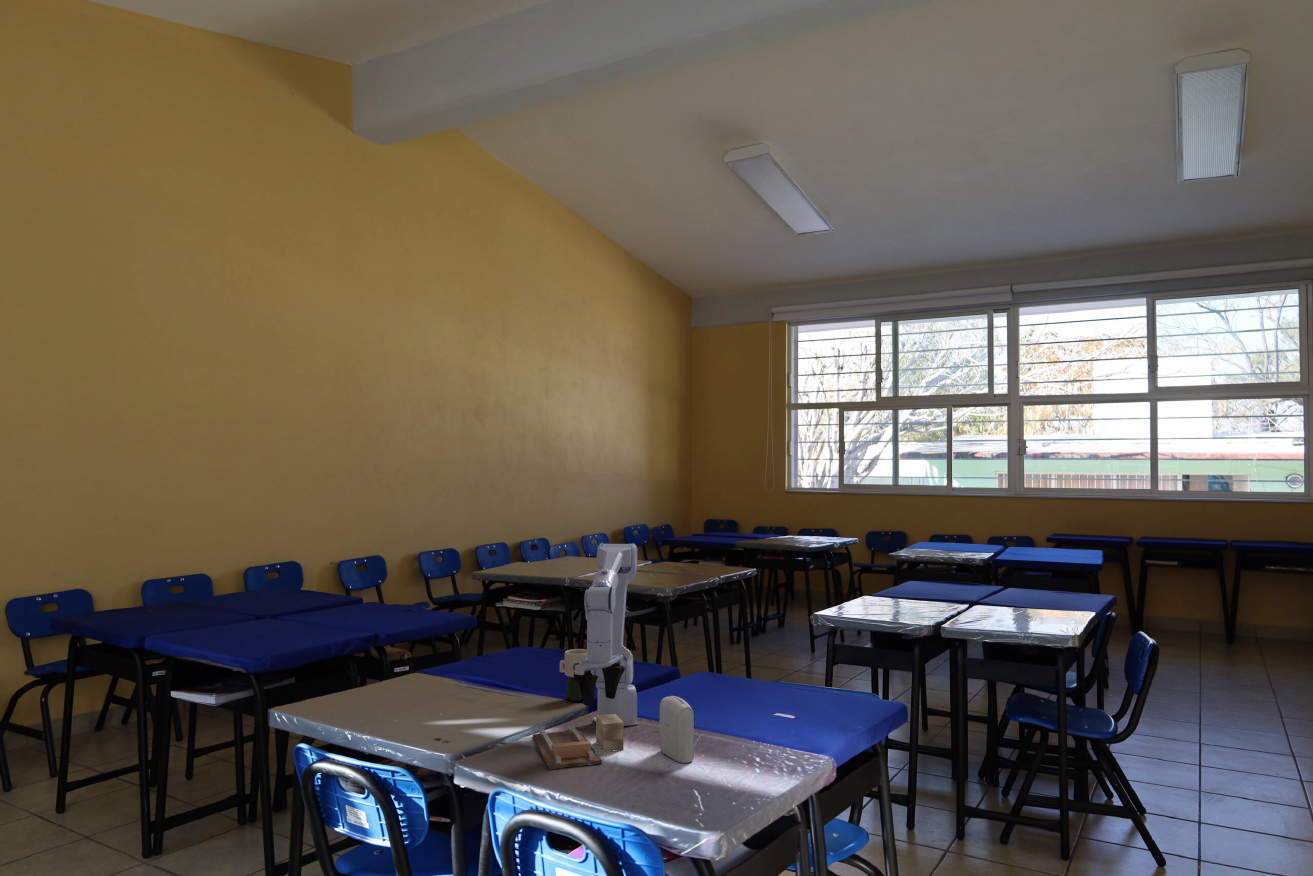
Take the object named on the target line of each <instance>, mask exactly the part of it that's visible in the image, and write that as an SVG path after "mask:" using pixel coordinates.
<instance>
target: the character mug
mask: <svg viewBox="0 0 1313 876" xmlns="http://www.w3.org/2000/svg"><path fill="white" fill-rule="evenodd" d="M585 658H587V649H583V648H577V649H576V648H575V649H569V650H565V651H564V659H562V660H560V661H559V672H560V673H561V674H562V673H564V675H565V676H567V677H569V678H568V680H567V684H566V692H565V698H566V699H568V700H570V701H575V702H577V701H583V699H582V695H581V691H580V688H579V686H578V683H577V682H576V680H575V678H574V672H575V665H577V664H580V663H582V662H583V661H584V659H585Z"/></svg>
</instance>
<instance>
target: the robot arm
mask: <svg viewBox="0 0 1313 876" xmlns="http://www.w3.org/2000/svg"><path fill="white" fill-rule="evenodd" d="M596 563H597V566H598V570H597V572H596V573H595V576H594V578H593V581H592V583H591V586H590V587H589V588H586V590H585V592H584V598H583V601H584V602H583V603H584V611H585V620H586V622H587V623H586V626H587V627H586V629H587V630H586V632H587V633H586V640H587V641H586V646H587V647H586V650H587V658H585V659H584V661H583V662H582V663H580V664H577V665H575V672H574V678H575V680H576V682H577V683H578V686H579V688H580V691H581V695H582V702H583V705H584V706H586V707H593V705H594V700H595V699H594V697H595V688H597V716H599V715H610V714H616V715H617V716H618V717H619V718H620V719H621V720H622V721H623V722H624V727H626V726H638V724H639V723H638V694H637V689H636V687H635V685H634V684H632V682H633V681H634V655H633V653H632V651H631V650H629V648H627V647H626V646H624V633H625V621H626V620H625V618H626V606H627V604H626V603H627V591H628V587H629V583H630V581H632V580H633V579H635V578H636V574H637V567H638V546H637V545H636V544H635V543H603V542H601V543H599V545H598V546H597V551H596ZM592 721H594V722H595V723H596V716H594V717H592Z"/></svg>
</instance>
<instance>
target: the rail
mask: <svg viewBox="0 0 1313 876" xmlns="http://www.w3.org/2000/svg"><path fill="white" fill-rule="evenodd" d="M538 729H539V733H538V734H539V735H540V736H541V738H542V740H543V742H544V743H545V745H546V747H547V749H548V750H549V752H550V754H551V756H552V752H553V751H552V744H553V743H552V742H551V740H550V738H549V737H548V735H547V733H548V732H547V731H546V730H545V728H538ZM577 730H578V729H576V727H575V726H574V725H572V726H571V725H570V726H569V729H568V731H569V732H570V733H571V735H572V736H573V738H574V739H575V740H576V742H581V741H584V739H583V738H582V737H581V735H580V734H579V733H578V731H577ZM553 756H554V761H555V763H556V764H561V757H560V755H559V753H554V754H553ZM586 756H587V758H588V759H589V760H594V753H593V752H592V750H586Z"/></svg>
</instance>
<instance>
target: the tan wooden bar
mask: <svg viewBox="0 0 1313 876" xmlns="http://www.w3.org/2000/svg"><path fill="white" fill-rule="evenodd" d="M591 746H592V743H591V741H590V740H587V741H581V742H570V743H560V744H552V751H553V752H552V757H553V759H554V756H553V754H554V753H559V755H560V757H561V759H562V758H572V757H582V756H586V750H591Z"/></svg>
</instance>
